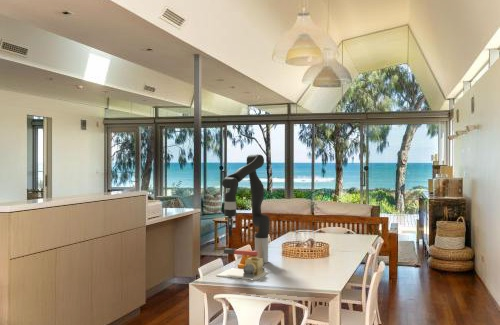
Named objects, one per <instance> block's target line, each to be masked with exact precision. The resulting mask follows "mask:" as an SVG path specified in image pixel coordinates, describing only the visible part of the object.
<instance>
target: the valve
mask: <svg viewBox="0 0 500 325" xmlns="http://www.w3.org/2000/svg"><path fill="white" fill-rule="evenodd" d="M264 265H265V263H264V261H263V258H257V256H251V257H250V258H248V259H246V260H245V267H244V269H243V271H244V273H243V277H250V278H253V277H254V276H258V275H260V274H262V273H263V271H265V267H264Z"/></svg>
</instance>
